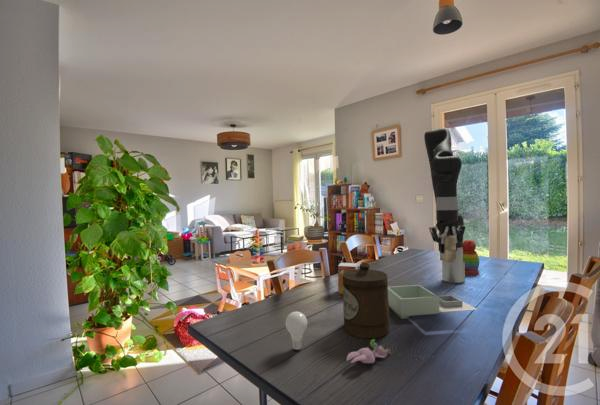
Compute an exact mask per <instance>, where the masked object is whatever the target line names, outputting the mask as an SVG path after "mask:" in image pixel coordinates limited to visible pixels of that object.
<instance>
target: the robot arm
mask: <svg viewBox="0 0 600 405" xmlns="http://www.w3.org/2000/svg"><path fill="white" fill-rule="evenodd" d="M423 138H424V145H425V150H426V153H427V157H428V158H427V159H428V162H429V168H430V174H431V175H430V176H431V183H432V189H433V195H434V200H435V201H434V202H435V206H436V208H435V216H436V218H435V220H436V224H435V226H430V227H428V230H429V233H430V235H431V238H432V242H434V243H438V246H437V247H438V252H439V254H440V253H442V254H443V253H445V251H444V238H445V236H446V235H453V236H456V262H444V261H441V279H442V281H443V282H446V283H449V284H461V283H465V282H466V275H465V263H464V262H463V249H462V244H463V242H464V235H465V231H466V226H465V223H464V218H463V216H462V214H459V210H458V209H459V204H458V203H459V202H458V197H457V196H458V190H457V189H458V188H457V187H458V180H459V176H460V173H461V169H462V165H463V164H462V160H461V158H460V156H457V155H454V153H453V150H452V144H453V143H452V136H451V132H450V129H449V128H447V127H441V128H437V129H433V130H432V129H431V130H428V131H425V133H424V137H423ZM437 232H438V233H437Z"/></svg>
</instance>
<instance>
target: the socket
mask: <svg viewBox="0 0 600 405" xmlns="http://www.w3.org/2000/svg"><path fill="white" fill-rule="evenodd" d="M437 296H438V297H439V312H441V313H447V312H460V311H461V312H463V311H475V310H476V311H477V310H478V309H477V308H476V307H474V306H472V305H470V304H469V303H467V302H466V301H463V300H462V299H459V298H458V297H456V296H454V295H452V294H449V295H448V294H446V295H445V294H444V295H443V294H442V295H437Z"/></svg>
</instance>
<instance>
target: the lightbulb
mask: <svg viewBox="0 0 600 405" xmlns="http://www.w3.org/2000/svg"><path fill="white" fill-rule="evenodd" d="M285 327H286V330H287V331H288V332H289V334H290V337H291V340H292V349H293V350H294V351H295V350H296V351H299V350H301V349H302V348H303V346H302V345H303V342H302V340H303V336H304V333H305V331H306V330H307V328H308V319H307V317H306V315H305V314H304V313H303V312H301V311H292V312H290V313H289V314H288V315H287V316H286V319H285Z"/></svg>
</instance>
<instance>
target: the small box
mask: <svg viewBox="0 0 600 405" xmlns="http://www.w3.org/2000/svg"><path fill="white" fill-rule="evenodd" d="M337 267H338V268H337V277H338V278H337V280H338V282H337V285H338V286H337V288H338V295H343V273H344V272H346V271H349V270H356V269H359V268H358V262H357V263H354V262H340V263H339V264H338V266H337Z"/></svg>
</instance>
